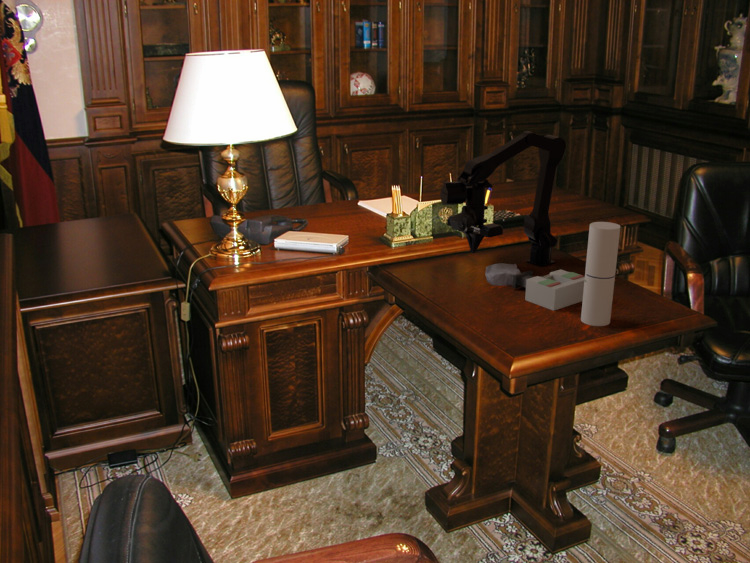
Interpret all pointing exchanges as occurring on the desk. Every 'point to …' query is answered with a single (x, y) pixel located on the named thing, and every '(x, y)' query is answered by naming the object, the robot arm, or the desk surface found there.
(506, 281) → the stone block
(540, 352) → the desk surface
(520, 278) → the black rectangular block
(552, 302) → the block
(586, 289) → the cylindrical container
